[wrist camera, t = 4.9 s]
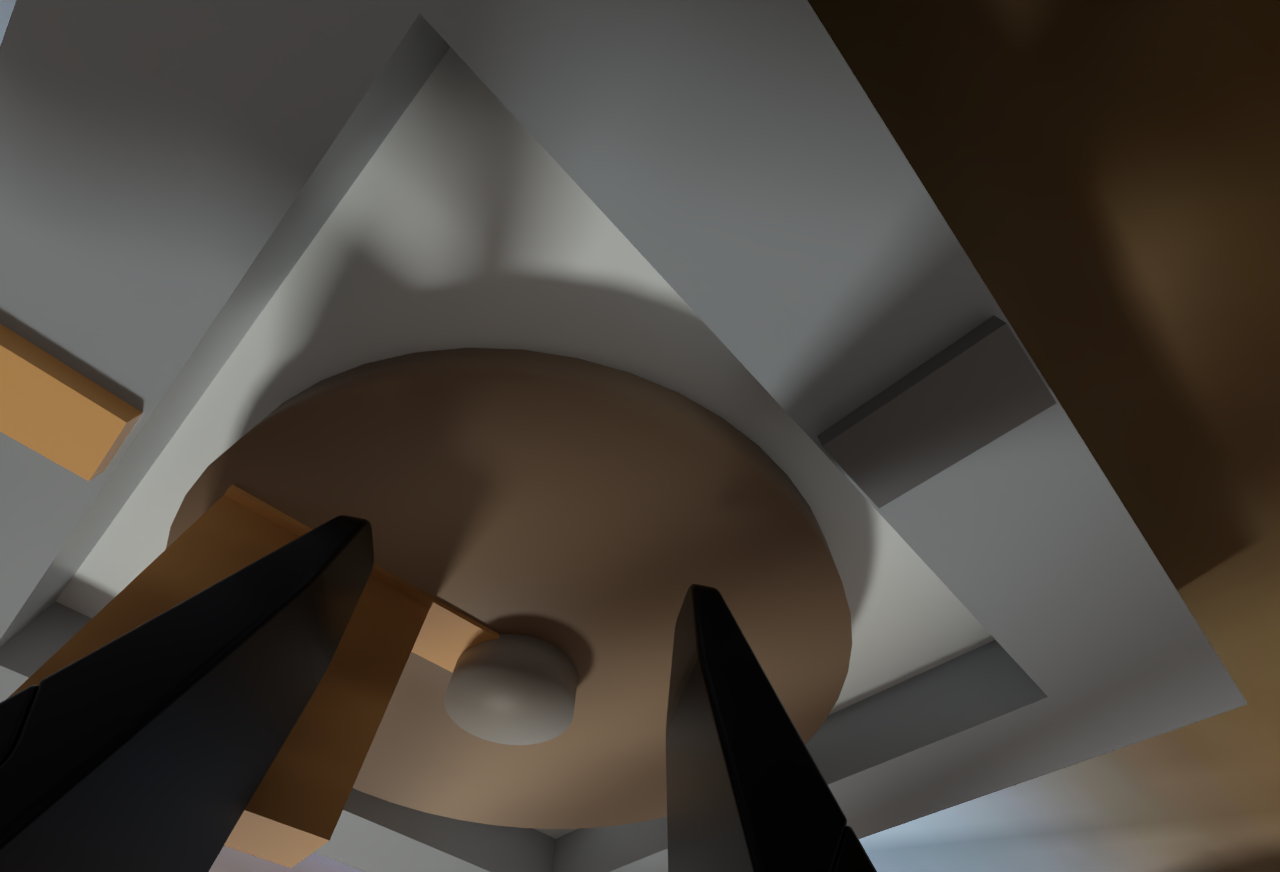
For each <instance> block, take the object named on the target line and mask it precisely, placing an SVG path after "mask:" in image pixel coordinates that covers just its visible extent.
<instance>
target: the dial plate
mask: <svg viewBox="0 0 1280 872" xmlns="http://www.w3.org/2000/svg"><path fill="white" fill-rule="evenodd" d="M459 348H491V349H521V350H529V351H535V352H542V353H548V354H554V355H561V356H567V357H574V358H579V359H583V360H586V361H590V362H593V363H597V364H601V365H604V366H608V367H611V368H615V369H618V370H622V371H626V372H629V373H632V374H634V375H637V376H639V377H642V378H644V379H646V380H649V381H651V382H654V383H656V384H658V385H661V386H663V387H666V388H668V389H670V390H673V391H675V392H678V393H680V394H681V395H683V396H685V397H687V398H688V399H690V400H692V401H694V402H696V403H697V404H699V405H701V406H703V407H704V408H706V409H708V410H710V411H711V412H713V413H715V414H717V415H718V416H720V417H722V418H723V419H724V420H726V421H727V422H728V423H730V424H731V425H732V426H734V427H735V428H736V429H738V430H739V431H740V432H741V433H743V434H744V435H745V436H747V437H748V438H749V439H751V440H752V441H753V442H755V443H756V444H757V445H758V446H759V447H760V448H761V449H762V450H763V451H764V452H765V453H766V454H767V455H768V456H769V457H770V458H771V459H772V460H773V461H774V462H775V463H776V464H777V465H778V466H779V467H780V468H781V469H782V470H783V471H784V472H785V473H786V474H787V475H788V476H789V478H790V479H791V481H792V482H793V483H794V485H795V486H796V488H797V489H798V490H799V492H800V493H801V495H802V496H803V497H804V499H805V500H806V502H807V503H808V504H809V506H810V508H811V510H812V512H813V514H814V516H815V518H816V520H817V522H818V524H819V526H820V528H821V530H822V533H823V535H824V537H825V539H826V542H827V544H828V547H829V549H830V552H831V555H832V557H833V560H834V562H835V565H836V568H837V570H838V573H839V575H840V578H841V581H842V584H843V587H844V591H845V595H846V599H847V602H848V606H849V610H850V614H851V631H852V649H851V656H850V662H849V669H848V674H847V676H846V679H845V682H844V685H843V687H842V690H841V693H840V696H839V698H838V700H837V702H836V704H835V705H834V707H833V709H832V710H831V712H830V714H829V715H828V717H827V719H826V721H825V722H824V723H823V725H822V726H821V727H820V728H819V729H818V731H817V732H816V733H815V734H814V735H813V737H812V738H811V739H810V740H809V741H808V743H807V744H806V747H807V749H808V751H809V752H810V754H811V756H812V758H813V759H814V761H815V763H816V765H817V767H818V768H819V770H820V772H821V774H822V776H823V777H824V779H825V781H826V783H827V785H828V786H829V788H830V790H831V792H832V793H833V795H834V797H835V799H836V801H837V802H838V804H839V806H840V808H841V810H842V811H843V813H844V815H845V817H846V819H847V824H846V826H851V827H852V829H853V830H854V832H855V834H856V836H857V838H858V839H860V838H863V837H866V836H869V835H872V834H875V833H877V832H880V831H883V830H886V829H889V828H892V827H895V826H898V825H901V824H903V823H906V822H909V821H912V820H915V819H918V818H921V817H924V816H926V815H929V814H932V813H935V812H938V811H941V810H944V809H947V808H950V807H952V806H955V805H958V804H961V803H964V802H967V801H970V800H973V799H976V798H978V797H981V796H984V795H987V794H990V793H993V792H996V791H999V790H1002V789H1004V788H1007V787H1010V786H1013V785H1016V784H1019V783H1022V782H1025V781H1027V780H1030V779H1033V778H1036V777H1039V776H1042V775H1045V774H1048V773H1051V772H1053V771H1056V770H1059V769H1062V768H1065V767H1068V766H1071V765H1074V764H1077V763H1079V762H1082V761H1085V760H1088V759H1091V758H1094V757H1097V756H1100V755H1103V754H1105V753H1108V752H1111V751H1114V750H1117V749H1120V748H1123V747H1126V746H1128V745H1131V744H1134V743H1137V742H1140V741H1143V740H1146V739H1149V738H1152V737H1154V736H1157V735H1160V734H1163V733H1166V732H1169V731H1172V730H1175V729H1178V728H1180V727H1183V726H1186V725H1189V724H1192V723H1195V722H1198V721H1201V720H1204V719H1206V718H1209V717H1212V716H1215V715H1218V714H1221V713H1224V712H1227V711H1229V710H1232V709H1235V708H1238V707H1241V706H1244V705H1247V704H1248V703H1247V701H1246V700H1245V698H1244V697H1243V695H1242V694H1241V692H1240V690H1239V689H1238V687H1237V686H1236V684H1235V682H1234V681H1233V679H1232V678H1231V676H1230V674H1229V673H1228V671H1227V670H1226V668H1225V666H1224V665H1223V663H1222V662H1221V660H1220V658H1219V657H1218V655H1217V654H1216V652H1215V650H1214V649H1213V647H1212V646H1211V644H1210V642H1209V641H1208V639H1207V638H1206V636H1205V634H1204V633H1203V631H1202V630H1201V628H1200V626H1199V625H1198V623H1197V622H1196V620H1195V618H1194V617H1193V615H1192V614H1191V612H1190V610H1189V609H1188V607H1187V606H1186V604H1185V602H1184V601H1183V599H1182V598H1181V596H1180V595H1179V593H1178V591H1177V590H1176V588H1175V587H1174V585H1173V583H1172V582H1171V580H1170V579H1169V577H1168V575H1167V574H1166V572H1165V571H1164V569H1163V567H1162V566H1161V564H1160V563H1159V561H1158V559H1157V558H1156V556H1155V555H1154V553H1153V551H1152V550H1151V548H1150V547H1149V545H1148V543H1147V542H1146V540H1145V539H1144V537H1143V535H1142V534H1141V532H1140V531H1139V529H1138V527H1137V526H1136V524H1135V523H1134V521H1133V519H1132V518H1131V516H1130V515H1129V513H1128V511H1127V510H1126V508H1125V507H1124V505H1123V503H1122V502H1121V500H1120V499H1119V497H1118V495H1117V494H1116V492H1115V491H1114V489H1113V488H1112V486H1111V484H1110V483H1109V481H1108V480H1107V478H1106V476H1105V475H1104V473H1103V472H1102V470H1101V468H1100V467H1099V465H1098V464H1097V462H1096V460H1095V459H1094V457H1093V456H1092V454H1091V452H1090V451H1089V449H1088V448H1087V446H1086V444H1085V443H1084V441H1083V440H1082V438H1081V436H1080V435H1079V433H1078V432H1077V430H1076V428H1075V427H1074V425H1073V424H1072V422H1071V420H1070V419H1069V417H1068V416H1067V414H1066V412H1065V411H1064V409H1063V408H1062V406H1061V404H1060V403H1059V401H1058V400H1057V398H1056V396H1055V395H1054V393H1053V392H1052V390H1051V389H1050V387H1049V385H1048V384H1047V382H1046V381H1045V379H1044V377H1043V376H1042V374H1041V373H1040V371H1039V369H1038V368H1037V366H1036V365H1035V363H1034V361H1033V360H1032V358H1031V357H1030V355H1029V353H1028V352H1027V350H1026V349H1025V347H1024V345H1023V344H1022V342H1021V341H1020V339H1019V337H1018V336H1017V334H1016V333H1015V331H1014V329H1013V328H1012V326H1011V325H1010V323H1009V321H1008V320H1007V318H1006V317H1005V315H1004V313H1003V312H1002V310H1001V309H1000V307H999V305H998V304H997V302H996V301H995V299H994V297H993V296H992V294H991V293H990V291H989V290H988V288H987V286H986V285H985V283H984V282H983V280H982V278H981V277H980V275H979V274H978V272H977V270H976V269H975V267H974V266H973V264H972V262H971V261H970V259H969V258H968V256H967V254H966V253H965V251H964V250H963V248H962V246H961V245H960V243H959V242H958V240H957V238H956V237H955V235H954V234H953V232H952V230H951V229H950V227H949V226H948V224H947V222H946V221H945V219H944V218H943V216H942V214H941V213H940V211H939V210H938V208H937V206H936V205H935V203H934V202H933V200H932V198H931V197H930V195H929V194H928V192H927V191H926V189H925V187H924V186H923V184H922V183H921V181H920V179H919V178H918V176H917V175H916V173H915V171H914V170H913V168H912V167H911V165H910V163H909V162H908V160H907V159H906V157H905V155H904V154H903V152H902V151H901V149H900V147H899V146H898V144H897V143H896V141H895V139H894V138H893V136H892V135H891V133H890V131H889V130H888V128H887V127H886V125H885V123H884V122H883V120H882V119H881V117H880V115H879V114H878V112H877V111H876V109H875V107H874V106H873V104H872V103H871V101H870V99H869V98H868V96H867V95H866V93H865V92H864V90H863V88H862V87H861V85H860V84H859V82H858V80H857V79H856V77H855V76H854V74H853V72H852V71H851V69H850V68H849V66H848V64H847V63H846V61H845V60H844V58H843V56H842V55H841V53H840V52H839V50H838V48H837V47H836V45H835V44H834V42H833V40H832V39H831V37H830V36H829V34H828V32H827V31H826V29H825V28H824V26H823V24H822V23H821V21H820V20H819V18H818V16H817V15H816V13H815V12H814V10H813V8H812V7H811V5H810V4H809V2H808V0H17V1H16V4H15V6H14V9H13V12H12V15H11V18H10V21H9V24H8V26H7V29H6V32H5V35H4V38H3V41H2V44H1V47H0V702H2V701H4V700H6V699H7V698H8V697H9V696H10V695H11V694H12V693H13V692H15V691H16V690H17V689H18V688H19V687H20V686H21V685H22V684H23V683H24V682H25V681H26V680H27V679H28V678H29V677H30V676H32V675H33V674H34V673H35V672H36V671H37V670H38V669H39V668H40V667H41V666H42V665H43V664H44V663H45V662H46V661H48V660H49V659H50V658H51V657H52V656H53V655H54V654H55V653H56V652H57V651H58V650H59V649H60V648H61V647H62V646H63V645H65V644H66V643H67V642H68V641H69V640H70V639H71V638H72V637H73V636H74V635H75V634H76V633H77V632H78V631H79V630H81V629H82V628H83V627H84V626H85V625H86V624H87V623H88V622H89V621H90V620H91V619H92V618H93V617H94V616H95V615H97V614H98V613H99V612H100V611H101V610H102V609H103V608H104V607H105V606H106V605H107V604H108V603H109V602H110V601H111V600H112V599H114V598H115V597H116V596H117V595H118V594H119V593H120V592H121V591H122V590H123V589H124V588H125V587H126V586H127V585H128V584H130V583H131V582H132V581H133V580H134V579H135V578H136V577H137V576H138V575H139V574H140V573H141V572H142V571H143V570H144V569H145V568H147V567H148V566H149V565H150V564H151V563H152V562H153V561H154V560H155V559H156V558H157V557H158V556H159V555H160V554H161V553H163V552H164V551H165V550H166V546H167V541H168V536H169V532H170V527H171V525H172V523H173V520H174V518H175V516H176V514H177V512H178V510H179V508H180V506H181V503H182V501H183V499H184V497H185V495H186V494H187V492H188V491H189V490H190V489H191V487H192V486H193V485H194V484H195V482H196V481H197V480H198V478H199V477H200V476H201V475H202V473H203V472H204V471H205V469H206V468H207V467H208V466H209V465H210V464H211V463H212V462H213V461H214V460H216V459H217V458H218V457H219V456H220V455H222V454H223V453H224V452H225V451H226V450H227V449H229V448H230V447H231V446H232V445H233V444H235V443H236V442H237V441H238V440H239V439H240V438H242V437H243V436H244V435H245V434H246V433H248V432H249V431H250V430H251V429H252V428H254V427H255V426H256V425H257V424H258V423H260V422H261V421H262V420H263V419H264V418H265V417H267V416H268V415H269V414H270V413H271V412H273V411H274V410H275V409H276V408H277V407H279V406H280V405H281V404H282V403H283V402H285V401H287V400H288V399H290V398H292V397H294V396H295V395H297V394H299V393H300V392H302V391H304V390H306V389H307V388H309V387H311V386H313V385H314V384H316V383H318V382H319V381H321V380H324V379H326V378H329V377H332V376H334V375H337V374H339V373H342V372H345V371H347V370H350V369H353V368H355V367H358V366H360V365H363V364H366V363H370V362H375V361H379V360H384V359H388V358H392V357H397V356H401V355H406V354H410V353H414V352H426V351H437V350H448V349H459ZM314 853H317V854H319V855H322V856H324V857H327V858H330V859H332V860H335V861H338V862H340V863H343V864H346V865H348V866H351V867H353V868H356V869H359V870H361V871H364V872H668V838H667V817H663V818H658V819H654V820H650V821H644V822H637V823H631V824H625V825H618V826H608V827H597V828H581V829H537V828H518V827H508V826H497V825H488V824H482V823H476V822H470V821H463V820H457V819H453V818H448V817H444V816H439V815H435V814H430V813H426V812H422V811H419V810H415V809H412V808H408V807H405V806H401V805H398V804H394V803H391V802H389V801H386V800H383V799H380V798H377V797H375V796H372V795H369V794H366V793H364V792H361V791H359V790H356V789H354V788H352V790H351V792H350V795H349V797H348V799H347V802H346V804H345V806H344V809H343V811H342V813H341V816H340V818H339V820H338V823H337V825H336V827H335V830H334V832H333V834H332V836H331V839H330V841H328V842H327V843H326V844H324V845H323V846H321V847H320V848H319V849H317V850H316V851H314Z"/></svg>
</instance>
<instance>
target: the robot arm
mask: <svg viewBox="0 0 1280 872" xmlns="http://www.w3.org/2000/svg"><path fill="white" fill-rule="evenodd" d="M373 565H374V549H373V537H372V527H371V523H370V522H369V521H368V520H366V519H363V518H358V517H352V516H347V515H340V516H337V517H335V518H333V519H331V520H329V521H327V522H326V523H324V524H322V525H320V526H318V527H317V528H315V529H313V530H311V531H309V532H307V533H306V534H304V535H302V536H300V537H298V538H297V539H295V540H293V541H291V542H289V543H288V544H286V545H284V546H282V547H280V548H279V549H277V550H275V551H273V552H271V553H270V554H268V555H266V556H264V557H262V558H261V559H259V560H257V561H255V562H253V563H252V564H250V565H248V566H246V567H244V568H243V569H241V570H239V571H237V572H235V573H234V574H232V575H230V576H228V577H226V578H224V579H223V580H221V581H219V582H217V583H215V584H214V585H212V586H210V587H208V588H206V589H205V590H203V591H201V592H199V593H197V594H196V595H194V596H192V597H190V598H188V599H187V600H185V601H183V602H181V603H179V604H178V605H176V606H174V607H172V608H170V609H169V610H167V611H165V612H163V613H161V614H160V615H158V616H156V617H154V618H152V619H151V620H149V621H147V622H145V623H143V624H141V625H140V626H138V627H136V628H134V629H132V630H131V631H129V632H127V633H125V634H123V635H122V636H120V637H118V638H116V639H114V640H113V641H111V642H109V643H107V644H105V645H104V646H102V647H100V648H98V649H96V650H95V651H93V652H91V653H89V654H87V655H86V656H84V657H82V658H80V659H78V660H77V661H75V662H73V663H71V664H69V665H68V666H66V667H64V668H62V669H60V670H58V671H57V672H55V673H53V674H51V675H49V676H48V677H46V678H44V679H43V680H42V681H41V682H40V683H39V685H38V686H37V685H32V686H29V687H27V688H26V689H24V690H22V691H20V692H18V693H16V694H15V695H13V696H11V697H9V698H7V699H6V700H4V701H2V702H0V872H208V871H209V869H210V868H211V866H212V864H213V863H214V861H215V859H216V858H217V856H218V854H219V853H220V851H221V849H222V848H223V846H224V844H225V842H226V841H227V839H228V837H229V836H230V834H231V832H232V831H233V829H234V827H235V826H236V824H237V822H238V820H239V819H240V817H241V815H242V814H243V812H244V810H245V809H246V807H247V805H248V804H249V802H250V800H251V798H252V797H253V795H254V793H255V792H256V790H257V788H258V787H259V785H260V783H261V782H262V780H263V778H264V776H265V775H266V773H267V771H268V770H269V768H270V766H271V765H272V763H273V761H274V760H275V758H276V756H277V754H278V753H279V751H280V749H281V748H282V746H283V744H284V743H285V741H286V739H287V738H288V736H289V734H290V732H291V731H292V729H293V727H294V726H295V724H296V722H297V721H298V719H299V717H300V716H301V714H302V712H303V710H304V709H305V707H306V705H307V704H308V702H309V700H310V699H311V697H312V695H313V694H314V692H315V690H316V688H317V687H318V685H319V683H320V681H321V680H322V678H323V676H324V674H325V672H326V671H327V669H328V666H329V664H330V662H331V660H332V658H333V656H334V654H335V652H336V650H337V647H338V645H339V643H340V641H341V639H342V636H343V634H344V632H345V630H346V628H347V625H348V623H349V621H350V619H351V617H352V614H353V612H354V610H355V608H356V606H357V603H358V601H359V599H360V597H361V595H362V592H363V590H364V588H365V586H366V584H367V581H368V579H369V577H370V575H371V572H372V569H373ZM666 790H667V838H668V872H877V871H876V869H875V868H874V866H873V864H872V863H871V861H870V859H869V857H868V856H867V854H866V852H865V850H864V848H863V847H862V845H861V843H860V841H859V839H858V838H857V836H856V834H855V832H854V830H853V829H852V827H851V826H846V824H847V819H846V817H845V815H844V813H843V811H842V810H841V808H840V806H839V804H838V802H837V801H836V799H835V797H834V795H833V793H832V792H831V790H830V788H829V786H828V785H827V783H826V781H825V779H824V777H823V776H822V774H821V772H820V770H819V768H818V767H817V765H816V763H815V761H814V759H813V758H812V756H811V754H810V752H809V751H808V749H807V747H806V745H805V743H804V742H803V740H802V738H801V736H800V734H799V733H798V731H797V729H796V727H795V726H794V724H793V722H792V720H791V718H790V717H789V715H788V713H787V711H786V709H785V708H784V706H783V704H782V702H781V701H780V699H779V697H778V695H777V693H776V692H775V690H774V688H773V686H772V684H771V683H770V681H769V679H768V677H767V676H766V674H765V672H764V670H763V668H762V667H761V665H760V663H759V661H758V659H757V658H756V656H755V654H754V652H753V651H752V649H751V647H750V645H749V643H748V642H747V640H746V638H745V636H744V634H743V633H742V631H741V629H740V627H739V626H738V624H737V622H736V620H735V618H734V617H733V615H732V613H731V611H730V609H729V608H728V606H727V604H726V602H725V601H724V599H723V597H722V595H721V593H720V592H719V591H718V590H717V589H716V588H714V587H709V586H704V585H699V584H692V585H691V586H690V587H689V588H688V591H687V593H686V596H685V599H684V601H683V604H682V606H681V609H680V612H679V614H678V617H677V621H676V625H675V632H674V642H673V653H672V664H671V675H670V686H669V697H668V708H667V721H666Z"/></svg>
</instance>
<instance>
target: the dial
mask: <svg viewBox="0 0 1280 872" xmlns="http://www.w3.org/2000/svg"><path fill="white" fill-rule="evenodd" d="M340 515H347V516H352V517H358V518H363V519H366V520H368V521H369V522H370V523H371V527H372V537H373V549H374V565H373V569H372V572H371V575H370V577H369V579H368V581H367V584H366V586H365V588H364V590H363V592H362V595H361V597H360V599H359V601H358V603H357V606H356V608H355V610H354V612H353V614H352V617H351V619H350V621H349V623H348V625H347V628H346V630H345V632H344V634H343V636H342V639H341V641H340V643H339V645H338V647H337V650H336V652H335V654H334V656H333V658H332V660H331V662H330V664H329V666H328V669H327V671H326V672H325V674H324V676H323V678H322V680H321V681H320V683H319V685H318V687H317V688H316V690H315V692H314V694H313V695H312V697H311V699H310V700H309V702H308V704H307V705H306V707H305V709H304V710H303V712H302V714H301V716H300V717H299V719H298V721H297V722H296V724H295V726H294V727H293V729H292V731H291V732H290V734H289V736H288V738H287V739H286V741H285V743H284V744H283V746H282V748H281V749H280V751H279V753H278V754H277V756H276V758H275V760H274V761H273V763H272V765H271V766H270V768H269V770H268V771H267V773H266V775H265V776H264V778H263V780H262V782H261V783H260V785H259V787H258V788H257V790H256V792H255V793H254V795H253V797H252V798H251V800H250V802H249V804H248V805H247V807H246V809H245V810H244V812H243V814H242V815H241V817H240V819H239V820H238V822H237V824H236V826H235V827H234V829H233V831H232V832H231V834H230V836H229V837H228V839H227V841H226V842H225V844H224V846H226V847H229V848H232V849H235V850H238V851H241V852H244V853H247V854H250V855H253V856H256V857H259V858H262V859H265V860H268V861H271V862H274V863H277V864H280V865H283V866H286V867H289V868H292V867H293V866H295V865H296V864H297V863H299V862H300V861H302V860H303V859H305V858H306V857H307V856H309V855H310V854H312V853H313V852H314V851H316V850H317V849H319V848H320V847H321V846H323V845H324V844H326V843H327V842H328V841H330V839H331V836H332V834H333V832H334V830H335V827H336V825H337V823H338V820H339V818H340V816H341V813H342V811H343V809H344V806H345V804H346V802H347V799H348V797H349V795H350V792H351V790H352V788H354V789H356V790H359V791H361V792H364V793H366V794H369V795H372V796H375V797H377V798H380V799H383V800H386V801H389V802H391V803H394V804H398V805H401V806H405V807H408V808H412V809H415V810H419V811H422V812H426V813H430V814H435V815H439V816H444V817H448V818H453V819H457V820H463V821H470V822H476V823H482V824H488V825H497V826H508V827H518V828H537V829H581V828H597V827H608V826H618V825H625V824H631V823H637V822H644V821H650V820H654V819H658V818H663V817H667V790H666V721H667V708H668V697H669V686H670V675H671V664H672V653H673V642H674V632H675V625H676V621H677V617H678V614H679V612H680V609H681V606H682V604H683V601H684V599H685V596H686V593H687V591H688V588H689V587H690V586H691V585H692V584H699V585H704V586H709V587H714V588H716V589H717V590H718V591H719V592H720V593H721V595H722V597H723V599H724V601H725V602H726V604H727V606H728V608H729V609H730V611H731V613H732V615H733V617H734V618H735V620H736V622H737V624H738V626H739V627H740V629H741V631H742V633H743V634H744V636H745V638H746V640H747V642H748V643H749V645H750V647H751V649H752V651H753V652H754V654H755V656H756V658H757V659H758V661H759V663H760V665H761V667H762V668H763V670H764V672H765V674H766V676H767V677H768V679H769V681H770V683H771V684H772V686H773V688H774V690H775V692H776V693H777V695H778V697H779V699H780V701H781V702H782V704H783V706H784V708H785V709H786V711H787V713H788V715H789V717H790V718H791V720H792V722H793V724H794V726H795V727H796V729H797V731H798V733H799V734H800V736H801V738H802V740H803V742H804V743H805V745H806V744H807V743H808V741H809V740H810V739H811V738H812V737H813V735H814V734H815V733H816V732H817V731H818V729H819V728H820V727H821V726H822V725H823V723H824V722H825V721H826V719H827V717H828V715H829V714H830V712H831V710H832V709H833V707H834V705H835V704H836V702H837V700H838V698H839V696H840V693H841V690H842V687H843V685H844V682H845V679H846V676H847V674H848V669H849V662H850V656H851V649H852V631H851V614H850V610H849V606H848V602H847V599H846V595H845V591H844V587H843V584H842V581H841V578H840V575H839V573H838V570H837V568H836V565H835V562H834V560H833V557H832V555H831V552H830V549H829V547H828V544H827V542H826V539H825V537H824V535H823V533H822V530H821V528H820V526H819V524H818V522H817V520H816V518H815V516H814V514H813V512H812V510H811V508H810V506H809V504H808V503H807V502H806V500H805V499H804V497H803V496H802V495H801V493H800V492H799V490H798V489H797V488H796V486H795V485H794V483H793V482H792V481H791V479H790V478H789V476H788V475H787V474H786V473H785V472H784V471H783V470H782V469H781V468H780V467H779V466H778V465H777V464H776V463H775V462H774V461H773V460H772V459H771V458H770V457H769V456H768V455H767V454H766V453H765V452H764V451H763V450H762V449H761V448H760V447H759V446H758V445H757V444H756V443H755V442H753V441H752V440H751V439H749V438H748V437H747V436H745V435H744V434H743V433H741V432H740V431H739V430H738V429H736V428H735V427H734V426H732V425H731V424H730V423H728V422H727V421H726V420H724V419H723V418H722V417H720V416H718V415H717V414H715V413H713V412H711V411H710V410H708V409H706V408H704V407H703V406H701V405H699V404H697V403H696V402H694V401H692V400H690V399H688V398H687V397H685V396H683V395H681V394H680V393H678V392H675V391H673V390H670V389H668V388H666V387H663V386H661V385H658V384H656V383H654V382H651V381H649V380H646V379H644V378H642V377H639V376H637V375H634V374H632V373H629V372H626V371H622V370H618V369H615V368H611V367H608V366H604V365H601V364H597V363H593V362H590V361H586V360H583V359H579V358H574V357H567V356H561V355H554V354H548V353H542V352H535V351H529V350H521V349H491V348H459V349H448V350H437V351H426V352H414V353H410V354H406V355H401V356H397V357H392V358H388V359H384V360H379V361H375V362H370V363H366V364H363V365H360V366H358V367H355V368H353V369H350V370H347V371H345V372H342V373H339V374H337V375H334V376H332V377H329V378H326V379H324V380H321V381H319V382H318V383H316V384H314V385H313V386H311V387H309V388H307V389H306V390H304V391H302V392H300V393H299V394H297V395H295V396H294V397H292V398H290V399H288V400H287V401H285V402H283V403H282V404H281V405H280V406H279V407H277V408H276V409H275V410H274V411H273V412H271V413H270V414H269V415H268V416H267V417H265V418H264V419H263V420H262V421H261V422H260V423H258V424H257V425H256V426H255V427H254V428H252V429H251V430H250V431H249V432H248V433H246V434H245V435H244V436H243V437H242V438H240V439H239V440H238V441H237V442H236V443H235V444H233V445H232V446H231V447H230V448H229V449H227V450H226V451H225V452H224V453H223V454H222V455H220V456H219V457H218V458H217V459H216V460H214V461H213V462H212V463H211V464H210V465H209V466H208V467H207V468H206V469H205V471H204V472H203V473H202V475H201V476H200V477H199V478H198V480H197V481H196V482H195V484H194V485H193V486H192V487H191V489H190V490H189V491H188V492H187V494H186V495H185V497H184V499H183V501H182V503H181V506H180V508H179V510H178V512H177V514H176V516H175V518H174V520H173V523H172V525H171V527H170V532H169V536H168V541H167V546H166V550H165V551H164V552H163V553H161V554H160V555H159V556H158V557H157V558H156V559H155V560H154V561H153V562H152V563H151V564H150V565H149V566H148V567H147V568H145V569H144V570H143V571H142V572H141V573H140V574H139V575H138V576H137V577H136V578H135V579H134V580H133V581H132V582H131V583H130V584H128V585H127V586H126V587H125V588H124V589H123V590H122V591H121V592H120V593H119V594H118V595H117V596H116V597H115V598H114V599H112V600H111V601H110V602H109V603H108V604H107V605H106V606H105V607H104V608H103V609H102V610H101V611H100V612H99V613H98V614H97V615H95V616H94V617H93V618H92V619H91V620H90V621H89V622H88V623H87V624H86V625H85V626H84V627H83V628H82V629H81V630H79V631H78V632H77V633H76V634H75V635H74V636H73V637H72V638H71V639H70V640H69V641H68V642H67V643H66V644H65V645H63V646H62V647H61V648H60V649H59V650H58V651H57V652H56V653H55V654H54V655H53V656H52V657H51V658H50V659H49V660H48V661H46V662H45V663H44V664H43V665H42V666H41V667H40V668H39V669H38V670H37V671H36V672H35V673H34V674H33V675H32V676H30V677H29V678H28V679H27V680H26V681H25V682H24V683H23V684H22V685H21V686H20V687H19V688H18V689H17V690H16V691H15V692H13V693H12V694H11V695H10V696H9V697H11V696H13V695H15V694H16V693H18V692H20V691H22V690H24V689H26V688H27V687H29V686H32V685H37V686H38V685H39V683H40V682H41V681H42V680H43V679H44V678H46V677H48V676H49V675H51V674H53V673H55V672H57V671H58V670H60V669H62V668H64V667H66V666H68V665H69V664H71V663H73V662H75V661H77V660H78V659H80V658H82V657H84V656H86V655H87V654H89V653H91V652H93V651H95V650H96V649H98V648H100V647H102V646H104V645H105V644H107V643H109V642H111V641H113V640H114V639H116V638H118V637H120V636H122V635H123V634H125V633H127V632H129V631H131V630H132V629H134V628H136V627H138V626H140V625H141V624H143V623H145V622H147V621H149V620H151V619H152V618H154V617H156V616H158V615H160V614H161V613H163V612H165V611H167V610H169V609H170V608H172V607H174V606H176V605H178V604H179V603H181V602H183V601H185V600H187V599H188V598H190V597H192V596H194V595H196V594H197V593H199V592H201V591H203V590H205V589H206V588H208V587H210V586H212V585H214V584H215V583H217V582H219V581H221V580H223V579H224V578H226V577H228V576H230V575H232V574H234V573H235V572H237V571H239V570H241V569H243V568H244V567H246V566H248V565H250V564H252V563H253V562H255V561H257V560H259V559H261V558H262V557H264V556H266V555H268V554H270V553H271V552H273V551H275V550H277V549H279V548H280V547H282V546H284V545H286V544H288V543H289V542H291V541H293V540H295V539H297V538H298V537H300V536H302V535H304V534H306V533H307V532H309V531H311V530H313V529H315V528H317V527H318V526H320V525H322V524H324V523H326V522H327V521H329V520H331V519H333V518H335V517H337V516H340ZM9 697H8V698H9Z"/></svg>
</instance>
